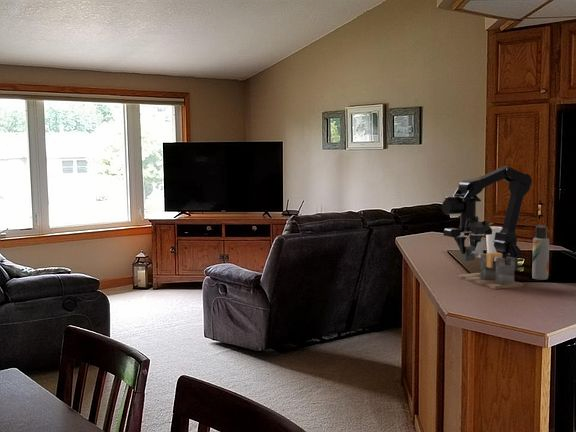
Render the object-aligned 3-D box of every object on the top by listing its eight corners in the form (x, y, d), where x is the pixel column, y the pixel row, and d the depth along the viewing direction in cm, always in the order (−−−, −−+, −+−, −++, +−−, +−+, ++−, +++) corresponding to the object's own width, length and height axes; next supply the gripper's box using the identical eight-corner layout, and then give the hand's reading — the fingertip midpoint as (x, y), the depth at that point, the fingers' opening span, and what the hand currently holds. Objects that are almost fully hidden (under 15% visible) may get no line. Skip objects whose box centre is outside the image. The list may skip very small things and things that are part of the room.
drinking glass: (502, 263, 278) (503, 228, 276) (486, 262, 279) (486, 228, 278) (500, 260, 284) (501, 226, 283) (484, 260, 286) (485, 226, 284)
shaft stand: (457, 277, 249) (457, 250, 248) (483, 274, 253) (484, 248, 252) (495, 289, 227) (495, 260, 226) (523, 286, 231) (524, 257, 230)
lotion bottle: (547, 277, 246) (549, 225, 244) (548, 280, 241) (550, 226, 239) (531, 276, 248) (533, 224, 246) (532, 279, 243) (533, 226, 241)
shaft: (461, 259, 252) (462, 245, 252) (470, 259, 254) (470, 245, 253) (497, 269, 232) (497, 254, 231) (506, 268, 233) (507, 253, 233)
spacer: (486, 266, 237) (486, 253, 237) (497, 265, 239) (497, 252, 238) (490, 267, 235) (490, 254, 234) (501, 266, 237) (502, 253, 236)
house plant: (491, 251, 309) (492, 217, 307) (498, 256, 295) (499, 220, 294) (461, 251, 310) (461, 217, 309) (466, 256, 297) (466, 220, 295)
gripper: (459, 216, 240) (459, 258, 241) (501, 214, 246) (501, 254, 248) (442, 213, 250) (442, 254, 252) (483, 211, 257) (482, 250, 258)
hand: (467, 253), depth 252 cm, fingers open, 4 cm apart
